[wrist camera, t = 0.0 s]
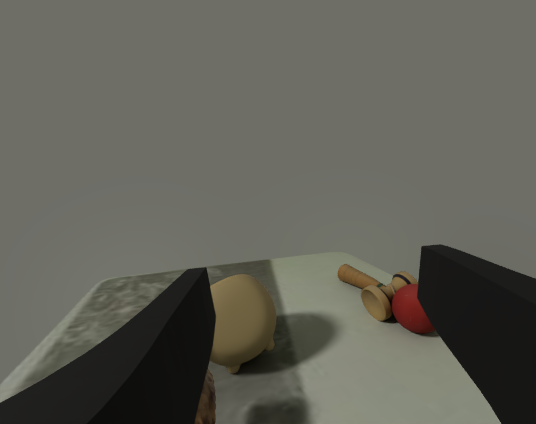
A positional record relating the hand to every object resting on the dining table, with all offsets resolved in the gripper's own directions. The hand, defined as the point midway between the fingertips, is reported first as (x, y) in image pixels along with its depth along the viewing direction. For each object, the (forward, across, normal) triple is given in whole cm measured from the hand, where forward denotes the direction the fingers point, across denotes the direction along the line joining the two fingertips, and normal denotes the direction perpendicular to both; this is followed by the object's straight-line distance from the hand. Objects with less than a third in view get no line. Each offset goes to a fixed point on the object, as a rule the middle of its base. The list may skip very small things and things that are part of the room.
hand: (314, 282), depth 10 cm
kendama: (+28, -13, +25) cm, 39 cm away
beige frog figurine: (+20, +8, +24) cm, 32 cm away
